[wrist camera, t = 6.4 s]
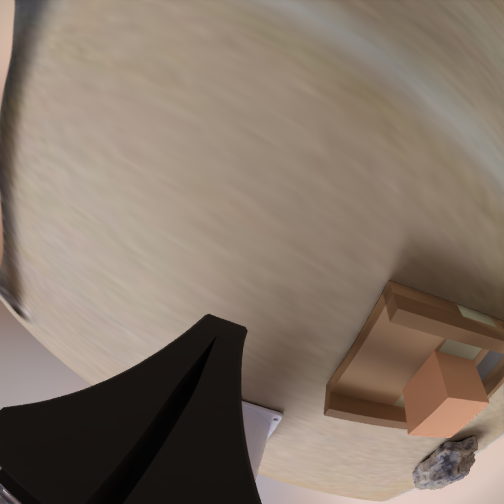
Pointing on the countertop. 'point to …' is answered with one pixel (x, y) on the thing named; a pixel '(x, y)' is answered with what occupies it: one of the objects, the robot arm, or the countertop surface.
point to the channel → (409, 354)
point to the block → (443, 396)
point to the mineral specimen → (446, 464)
